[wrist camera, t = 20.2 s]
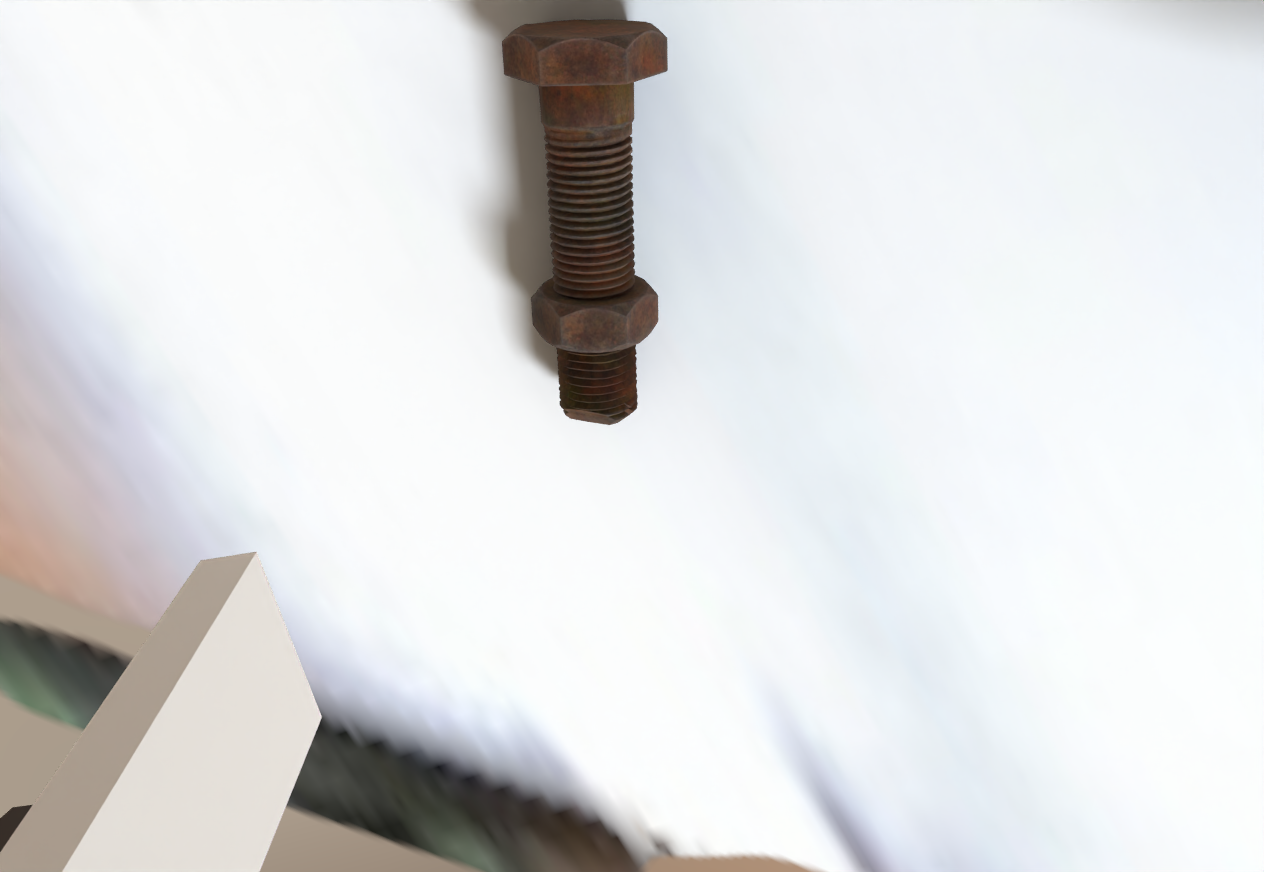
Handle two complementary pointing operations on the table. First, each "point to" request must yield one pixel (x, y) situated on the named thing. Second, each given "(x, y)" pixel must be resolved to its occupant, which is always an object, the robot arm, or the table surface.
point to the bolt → (590, 203)
